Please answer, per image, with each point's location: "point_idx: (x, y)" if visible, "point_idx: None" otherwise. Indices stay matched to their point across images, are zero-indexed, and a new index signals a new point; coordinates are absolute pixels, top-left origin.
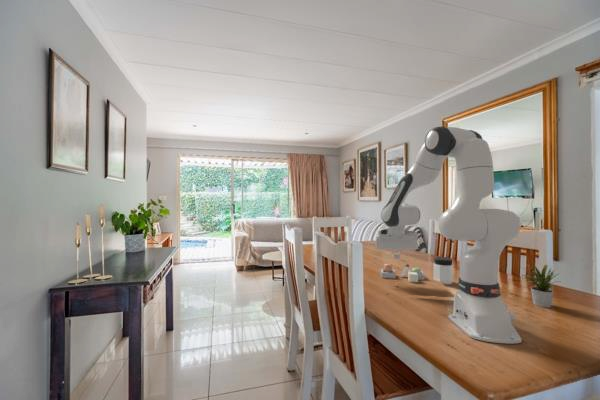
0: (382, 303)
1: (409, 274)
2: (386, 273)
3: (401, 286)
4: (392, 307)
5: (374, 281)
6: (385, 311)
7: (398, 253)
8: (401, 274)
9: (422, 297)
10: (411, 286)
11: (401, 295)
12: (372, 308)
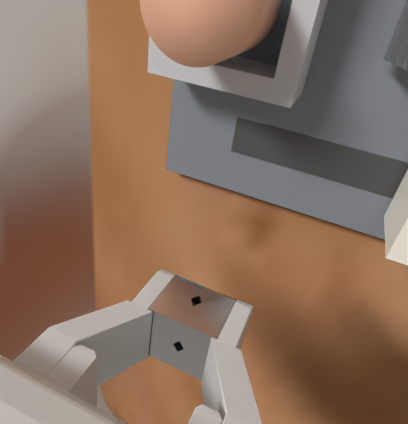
0: (139, 376)
1: (387, 256)
2: (196, 83)
3: (292, 232)
4: (166, 408)
5: (126, 95)
6: (141, 417)
7: (212, 370)
8: (406, 24)
9: (330, 395)
10: (373, 246)
11: None
12: (107, 390)
